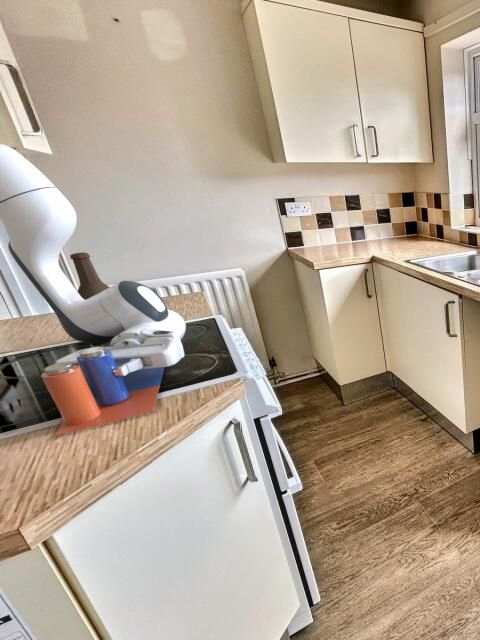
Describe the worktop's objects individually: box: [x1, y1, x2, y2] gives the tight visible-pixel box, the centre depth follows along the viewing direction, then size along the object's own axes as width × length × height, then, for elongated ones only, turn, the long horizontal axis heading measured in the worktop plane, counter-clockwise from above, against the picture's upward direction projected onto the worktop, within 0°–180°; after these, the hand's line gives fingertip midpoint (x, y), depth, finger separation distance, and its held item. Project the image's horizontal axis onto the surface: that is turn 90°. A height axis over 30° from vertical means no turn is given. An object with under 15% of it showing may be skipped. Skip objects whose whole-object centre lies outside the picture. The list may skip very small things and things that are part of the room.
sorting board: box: [54, 367, 165, 437], centre depth 88 cm, size 14×26×1 cm, turn 33°
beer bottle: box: [69, 252, 111, 342], centre depth 115 cm, size 8×8×24 cm
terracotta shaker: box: [40, 362, 101, 425], centre depth 78 cm, size 5×5×11 cm
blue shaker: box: [77, 346, 129, 406], centre depth 84 cm, size 5×5×11 cm
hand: (99, 375), depth 83 cm, fingers closed on blue shaker, 5 cm apart
